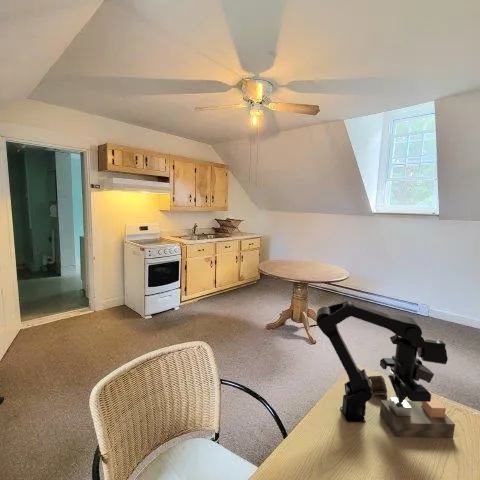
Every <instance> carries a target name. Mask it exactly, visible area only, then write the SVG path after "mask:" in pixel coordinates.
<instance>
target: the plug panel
mask: <svg viewBox="0 0 480 480" xmlns="http://www.w3.org/2000/svg"><path fill="white" fill-rule="evenodd" d="M380 401H381V402H380V407H379V408H380V410H379V414H380V416H381V417H382V419H383V420H384V422H385V423H386V425H387V426H388V428H389V429H390V431H391V432H392V434H393V436H394V437H395V438H405V439H407V438H409V439H413V438H414V439H454V435H455V429H456V428H455V427H456V423H455V422H454V421H453V420H452V419H451V418H449V416H448V415H447V414H446V413H445V417H444V418H430V417H429V415H428V414H427V413H426V412H425V411H424V410H423V409H422V402H418V401H411V400H406V402H407V403H408V404H409V405H410V406H411V415H410V417H396V416H395V415H394V413H393V412H392V410H391V409H390V408H389V404H390V399H389V400H385V399H384V400H383V399H382V400H381V399H380Z"/></svg>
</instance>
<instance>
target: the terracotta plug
mask: <svg viewBox="0 0 480 480" xmlns="http://www.w3.org/2000/svg"><path fill="white" fill-rule="evenodd" d="M422 409H423V410H424V411H425V412H426V413H427V414H428V415H429V417H430V418H444V417H445V414H446V410H447V409H446V406H444V405H443V403H441V402H440V401H439V400H438V399H437V398H434V397H433V398H432V397H431V401H430V402H422Z"/></svg>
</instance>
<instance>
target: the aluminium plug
mask: <svg viewBox="0 0 480 480" xmlns="http://www.w3.org/2000/svg"><path fill="white" fill-rule="evenodd" d="M389 400H390V404H389V408H390V409H391V410H392V412H393V413H394V415H395V416H396V417H410V415H411V406H410V405H409V404H408V403H407V402H406V401H407V400H406V399H405V400H404V401H403V402H402V403H400V402H399V401H398V399H397V397H390V398H389Z"/></svg>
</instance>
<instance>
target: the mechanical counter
mask: <svg viewBox="0 0 480 480" xmlns="http://www.w3.org/2000/svg"><path fill="white" fill-rule="evenodd" d="M368 377H369V378H370V382H371V386H372V389H373V391H371V392H372V396H379V395H380V396H381V395H382V396H383V395H384V396H385V399H388V389H387V388H388V387H387V384H386V380H385V378H384V376H383V375H371V376H368Z"/></svg>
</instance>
